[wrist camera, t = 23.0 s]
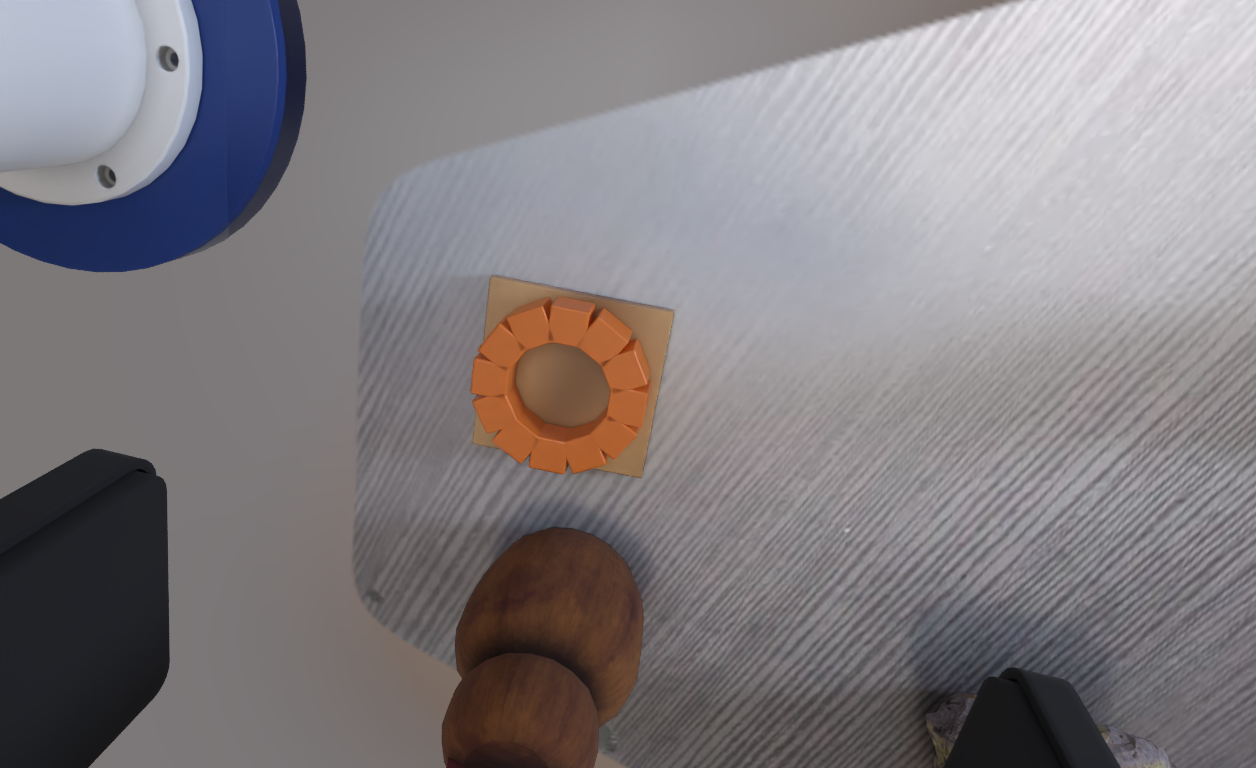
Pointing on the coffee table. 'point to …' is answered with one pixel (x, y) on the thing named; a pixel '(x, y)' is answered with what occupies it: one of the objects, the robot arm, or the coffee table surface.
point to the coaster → (578, 366)
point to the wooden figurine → (544, 654)
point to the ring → (528, 431)
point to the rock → (1136, 756)
